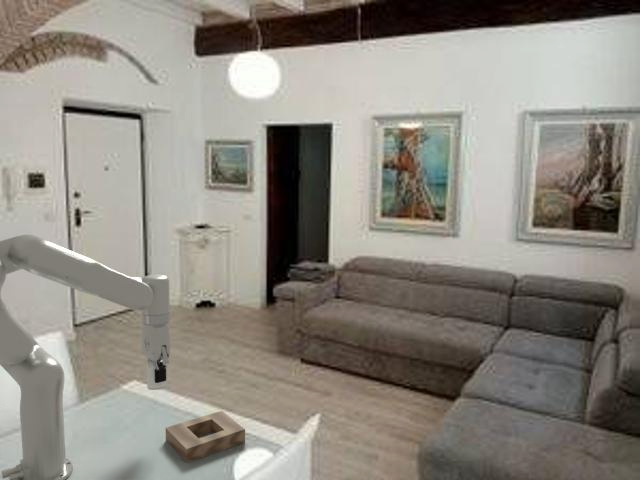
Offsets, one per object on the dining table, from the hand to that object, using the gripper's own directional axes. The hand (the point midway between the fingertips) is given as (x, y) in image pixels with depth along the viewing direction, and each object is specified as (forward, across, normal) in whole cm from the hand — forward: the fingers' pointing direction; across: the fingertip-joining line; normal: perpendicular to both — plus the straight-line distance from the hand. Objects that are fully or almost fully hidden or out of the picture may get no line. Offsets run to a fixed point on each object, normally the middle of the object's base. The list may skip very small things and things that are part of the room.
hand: (157, 378), depth 153 cm
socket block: (+17, +12, +9) cm, 23 cm away
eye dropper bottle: (+3, 0, 0) cm, 3 cm away
